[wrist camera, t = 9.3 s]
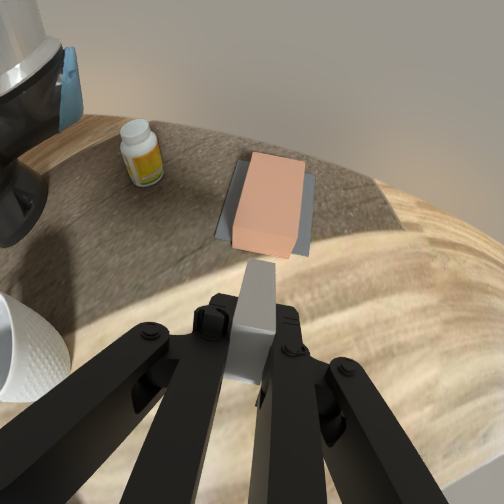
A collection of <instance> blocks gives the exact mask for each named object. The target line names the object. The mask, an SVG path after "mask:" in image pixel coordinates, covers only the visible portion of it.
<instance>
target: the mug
mask: <svg viewBox="0 0 504 504" xmlns="http://www.w3.org/2000/svg"><path fill="white" fill-rule="evenodd" d="M70 366H71V365H70V355H69V352H68V349H67V346H66V344H65V342H64V340H63V339H62V337H61V335H60V334H59V333H58V331H57V330H55V328H54V327H53V326H52V325H51V324H50V323H49V322H48V321H46V320H45V319H44V318H43V317H42V316H40V315H39V314H38V313H36V312H35V311H33V310H32V309H31V308H29V307H27V306H26V305H24V304H22V303H21V302H19V301H17V300H15V299H14V298H12V297H11V296H8V295H6V294H5V293H3V292H1V291H0V401H3V402H21V403H22V402H32V401H37V400H38V399H39V398H41V397H42V396H43V395H45V394H46V393H47V392H49V391H50V390H51V389H52V388H54V387H55V386H56V385H58V384H59V383H60V382H62V381H63V380H64V379H66V378H67V377H68V376H69V373H70Z"/></svg>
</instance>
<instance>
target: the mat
mask: <svg viewBox="0 0 504 504" xmlns="http://www.w3.org/2000/svg"><path fill="white" fill-rule="evenodd" d="M249 165H250V162H249V161H243V160H238V163H237V166H236V169H235V172H234V175H233V178H232V181H231V184H230V188H229V191H228V194H227V197H226V201H225V204H224V207H223V210H222V214H221V217H220V220H219V224H218V227H217V230H216V234H215V238H217V239H222V240H228V241H233V224H234V220H235V216H236V212H237V209H238V205H239V201H240V198H241V194H242V190H243V187H244V183H245V179H246V176H247V172H248V169H249ZM314 184H315V175H313V174H308V173H304V181H303V191H302V201H301V211H300V220H299V229H298V238H297V241H296V243H295V246H294V248H293V250H292V252H291V253H292V254H297V255H302V256H307V257H308V256H309V248H310V238H311V226H312V213H313V199H314Z"/></svg>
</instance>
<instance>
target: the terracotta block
mask: <svg viewBox="0 0 504 504" xmlns="http://www.w3.org/2000/svg"><path fill="white" fill-rule="evenodd" d="M304 170H305V162H302V161H297V160H292V159H288V158H283V157H278V156H273V155H268V154H262V153H257V152H253V154H252V158H251V162H250V165H249V169H248V172H247V176H246V179H245V183H244V187H243V190H242V194H241V198H240V201H239V205H238V209H237V212H236V216H235V220H234V224H233V241H232V248H236V249H241V250H246V251H251V252H256V253H261V254H266V255H271V256H276V257H281V258H286V259H289V257H290V254H291V252H292V250H293V248H294V246H295V243H296V241H297V238H298V229H299V220H300V211H301V201H302V191H303V181H304Z"/></svg>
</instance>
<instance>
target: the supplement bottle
mask: <svg viewBox="0 0 504 504" xmlns="http://www.w3.org/2000/svg"><path fill="white" fill-rule="evenodd" d="M120 135H121V139H122V142H121V145H120V151H121V154H122V157H123V159H124V162H125V165H126V168H127V170H128V173H129V175H130V178H131V180H132V182H133V183H134V184H135V185H137V186H139V187H147V186H150V185H153V184H155V183H157V182H158V181H159V180H160V179H161V178H162V176H163V173H164V168H163V163H162V159H161V155H160V150H159V145H158V141H157V137H156V135H155V134H154V133H153V132H152V131H150V127H149V123H148V121H147V120H145V119H135V120H132V121H129V122H128V123H126V124H125V125H124V126H123V127H122V128H121V130H120Z"/></svg>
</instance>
